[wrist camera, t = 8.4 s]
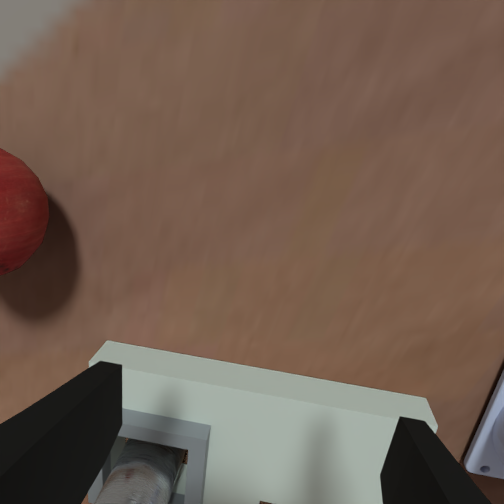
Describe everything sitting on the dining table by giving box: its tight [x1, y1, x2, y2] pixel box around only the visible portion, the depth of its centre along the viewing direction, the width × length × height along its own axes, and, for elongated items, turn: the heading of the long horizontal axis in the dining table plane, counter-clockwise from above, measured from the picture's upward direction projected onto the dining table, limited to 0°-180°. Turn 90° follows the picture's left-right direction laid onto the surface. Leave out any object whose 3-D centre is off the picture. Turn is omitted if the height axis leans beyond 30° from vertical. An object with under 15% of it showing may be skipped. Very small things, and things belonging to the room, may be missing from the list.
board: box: [88, 340, 438, 504], centre depth 23 cm, size 18×16×3 cm
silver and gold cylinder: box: [94, 438, 187, 504], centre depth 21 cm, size 4×4×7 cm
